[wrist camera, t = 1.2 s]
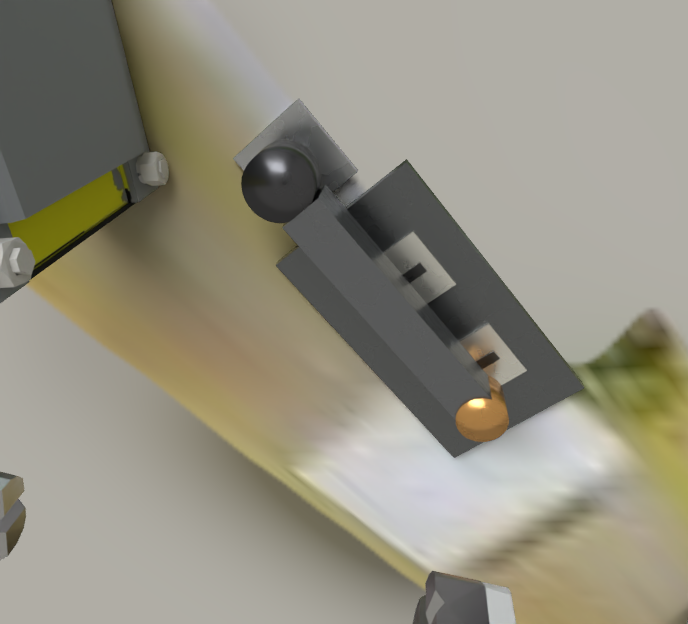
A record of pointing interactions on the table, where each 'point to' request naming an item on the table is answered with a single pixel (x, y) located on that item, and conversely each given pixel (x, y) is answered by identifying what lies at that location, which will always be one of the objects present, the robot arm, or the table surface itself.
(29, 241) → the electrical component
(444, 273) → the plate
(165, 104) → the table surface
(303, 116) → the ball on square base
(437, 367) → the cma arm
